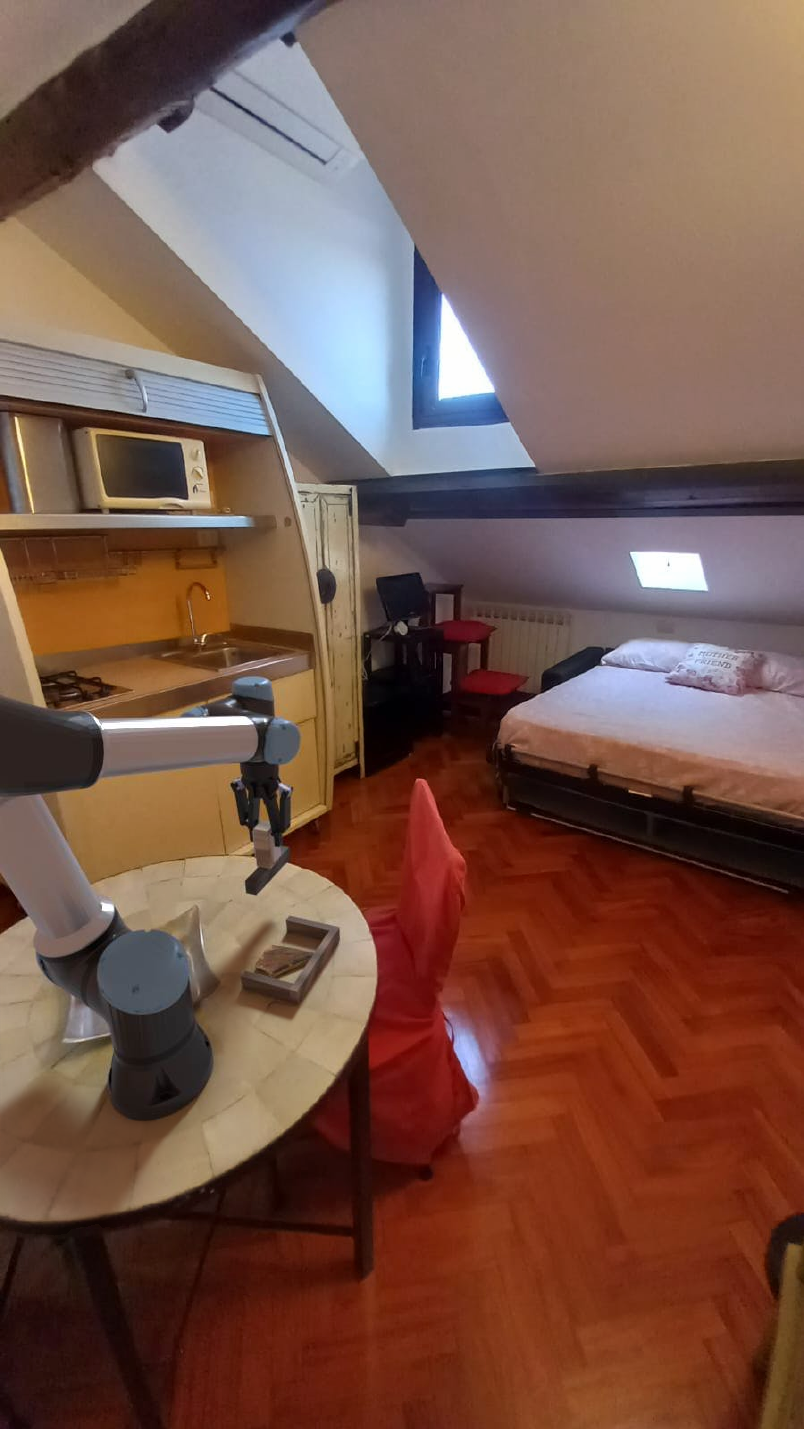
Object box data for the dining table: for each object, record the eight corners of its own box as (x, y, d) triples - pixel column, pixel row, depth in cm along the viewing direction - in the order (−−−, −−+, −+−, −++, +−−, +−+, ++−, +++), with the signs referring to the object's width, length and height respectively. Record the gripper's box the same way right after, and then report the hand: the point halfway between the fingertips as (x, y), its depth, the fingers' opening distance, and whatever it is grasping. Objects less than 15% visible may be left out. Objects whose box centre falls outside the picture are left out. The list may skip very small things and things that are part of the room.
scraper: (258, 896, 120) (252, 844, 116) (244, 893, 121) (238, 841, 117) (291, 859, 132) (288, 811, 128) (279, 856, 133) (275, 809, 129)
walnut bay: (298, 1005, 106) (297, 991, 105) (242, 989, 109) (240, 976, 108) (340, 939, 122) (339, 927, 121) (290, 927, 125) (289, 915, 124)
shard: (320, 959, 117) (320, 951, 117) (305, 988, 110) (304, 980, 110) (270, 949, 120) (269, 941, 119) (252, 976, 113) (251, 969, 112)
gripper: (304, 752, 118) (310, 854, 126) (234, 742, 123) (244, 841, 131) (285, 767, 112) (293, 873, 120) (212, 756, 117) (224, 859, 125)
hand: (268, 856), depth 125 cm, fingers closed on scraper, 3 cm apart
